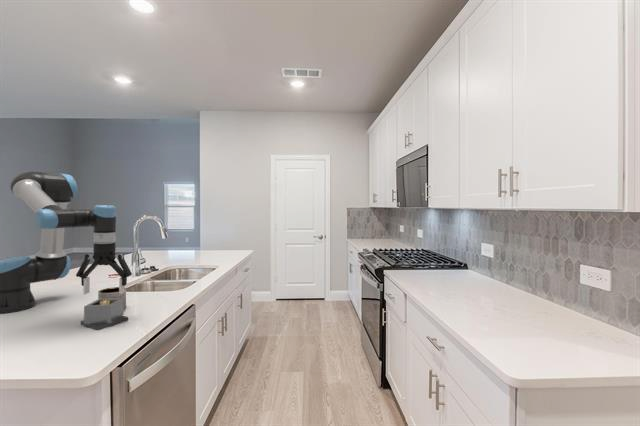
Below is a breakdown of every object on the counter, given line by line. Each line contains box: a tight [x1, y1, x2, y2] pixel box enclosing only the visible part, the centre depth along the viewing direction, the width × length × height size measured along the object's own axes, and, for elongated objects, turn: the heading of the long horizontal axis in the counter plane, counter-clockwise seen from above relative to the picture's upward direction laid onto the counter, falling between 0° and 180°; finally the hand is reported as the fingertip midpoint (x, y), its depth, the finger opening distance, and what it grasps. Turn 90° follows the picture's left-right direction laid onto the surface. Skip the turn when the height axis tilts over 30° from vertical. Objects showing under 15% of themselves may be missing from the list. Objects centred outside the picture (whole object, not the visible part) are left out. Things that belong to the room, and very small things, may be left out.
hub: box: [80, 300, 129, 331], centre depth 129 cm, size 12×12×9 cm
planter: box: [97, 286, 127, 310], centre depth 144 cm, size 11×11×10 cm
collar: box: [83, 298, 125, 324], centre depth 129 cm, size 10×10×7 cm
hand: (104, 293), depth 129 cm, fingers open, 13 cm apart
